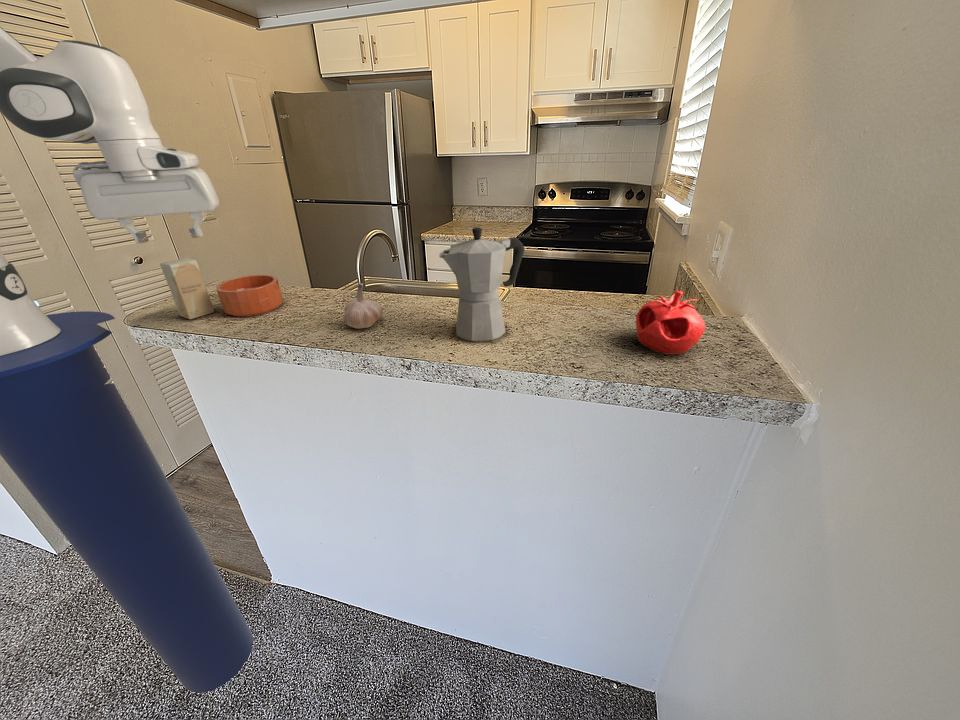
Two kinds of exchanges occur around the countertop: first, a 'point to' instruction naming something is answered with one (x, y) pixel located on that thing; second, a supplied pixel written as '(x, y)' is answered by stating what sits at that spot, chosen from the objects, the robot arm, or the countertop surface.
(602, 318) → the countertop surface
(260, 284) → the bowl
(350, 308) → the garlic bulb
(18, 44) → the robot arm
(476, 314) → the coffeepot
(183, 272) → the box
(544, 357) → the countertop surface
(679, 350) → the pomegranate
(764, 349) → the countertop surface
